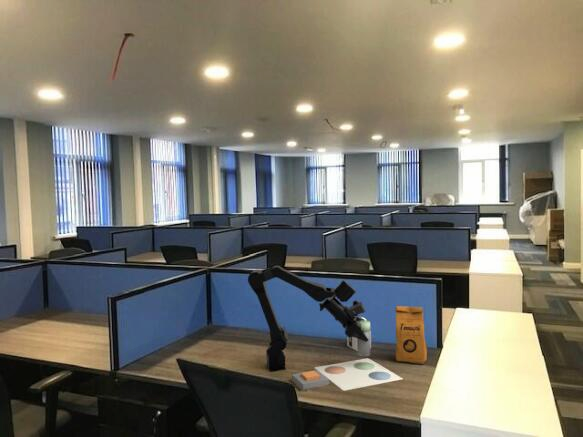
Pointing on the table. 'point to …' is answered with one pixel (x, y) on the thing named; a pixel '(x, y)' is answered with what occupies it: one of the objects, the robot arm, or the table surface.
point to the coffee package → (410, 335)
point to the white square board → (357, 374)
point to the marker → (364, 346)
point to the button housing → (311, 383)
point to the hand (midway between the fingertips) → (367, 338)
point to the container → (352, 340)
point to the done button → (310, 375)
